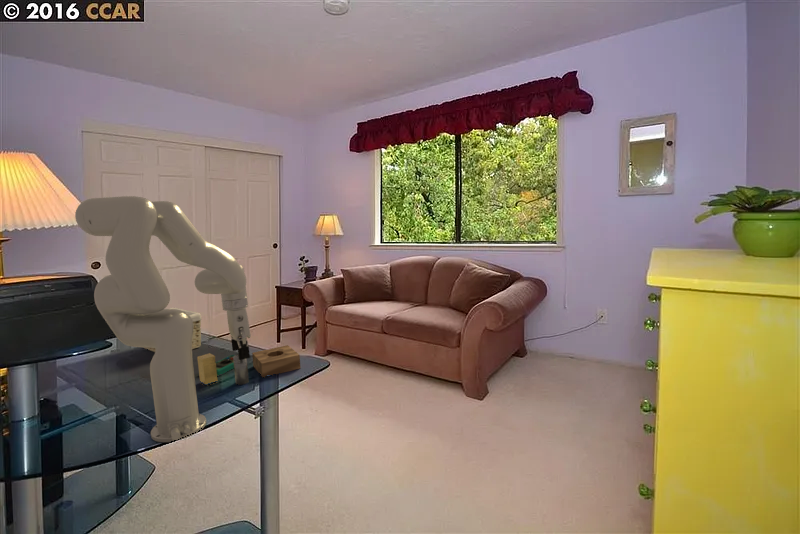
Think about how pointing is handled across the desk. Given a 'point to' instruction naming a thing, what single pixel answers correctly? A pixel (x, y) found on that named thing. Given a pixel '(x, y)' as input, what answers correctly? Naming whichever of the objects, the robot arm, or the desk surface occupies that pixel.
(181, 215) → the robot arm
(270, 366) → the bore block
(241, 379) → the cylinder
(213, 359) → the square bit
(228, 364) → the digital multimeter
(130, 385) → the desk surface
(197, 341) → the storage basket
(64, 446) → the desk surface
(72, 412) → the desk surface
